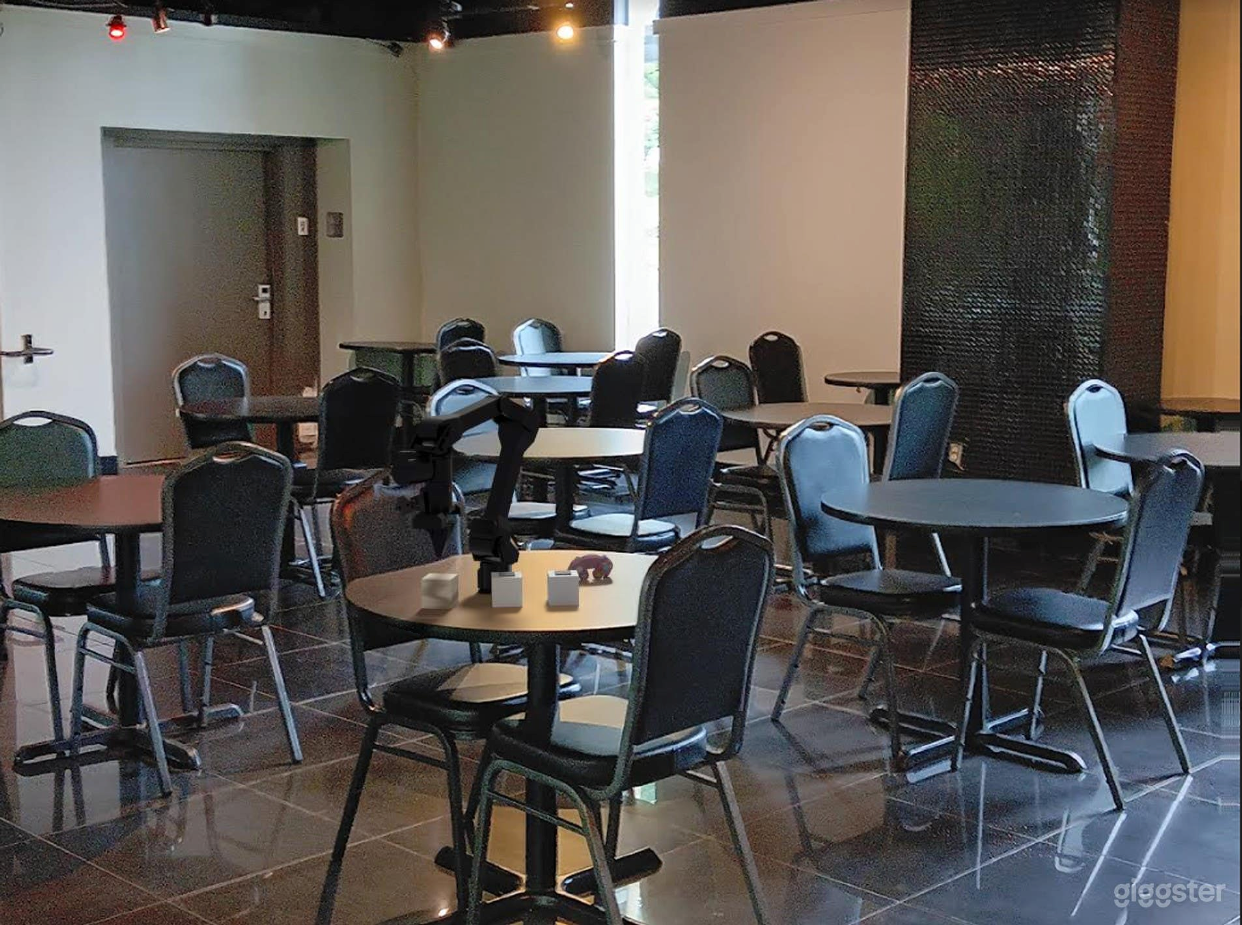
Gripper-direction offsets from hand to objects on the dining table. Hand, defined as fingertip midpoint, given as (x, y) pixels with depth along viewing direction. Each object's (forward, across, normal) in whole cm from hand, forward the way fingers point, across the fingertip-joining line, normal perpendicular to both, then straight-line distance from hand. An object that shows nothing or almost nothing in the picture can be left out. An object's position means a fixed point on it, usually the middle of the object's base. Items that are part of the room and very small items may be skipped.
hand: (439, 557), depth 308 cm
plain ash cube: (+10, 0, 0) cm, 10 cm away
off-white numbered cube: (+10, -4, +13) cm, 17 cm away
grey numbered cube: (+10, -7, +24) cm, 27 cm away
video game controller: (+10, -30, +26) cm, 41 cm away
